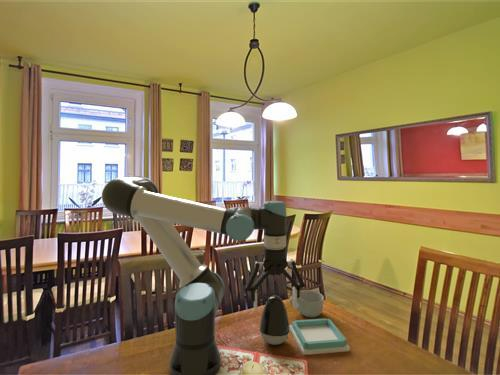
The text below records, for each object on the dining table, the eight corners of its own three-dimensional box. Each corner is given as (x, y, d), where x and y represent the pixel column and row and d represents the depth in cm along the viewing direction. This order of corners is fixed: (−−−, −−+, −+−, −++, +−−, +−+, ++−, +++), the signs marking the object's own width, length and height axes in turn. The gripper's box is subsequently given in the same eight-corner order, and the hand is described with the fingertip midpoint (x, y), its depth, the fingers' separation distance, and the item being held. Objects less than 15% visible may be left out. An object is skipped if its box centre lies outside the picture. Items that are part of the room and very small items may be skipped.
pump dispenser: (269, 333, 106) (270, 290, 108) (294, 341, 100) (295, 295, 102) (252, 341, 98) (254, 295, 100) (278, 350, 92) (279, 300, 94)
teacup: (321, 308, 125) (321, 290, 124) (325, 321, 114) (325, 301, 113) (288, 306, 126) (289, 289, 126) (289, 319, 115) (290, 299, 115)
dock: (302, 354, 93) (303, 345, 93) (289, 328, 109) (289, 320, 108) (349, 351, 95) (350, 341, 95) (329, 325, 111) (330, 317, 111)
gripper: (239, 251, 91) (239, 316, 93) (314, 248, 95) (314, 311, 96) (237, 245, 99) (237, 306, 100) (307, 242, 102) (306, 301, 103)
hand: (275, 308), depth 98 cm, fingers open, 13 cm apart
